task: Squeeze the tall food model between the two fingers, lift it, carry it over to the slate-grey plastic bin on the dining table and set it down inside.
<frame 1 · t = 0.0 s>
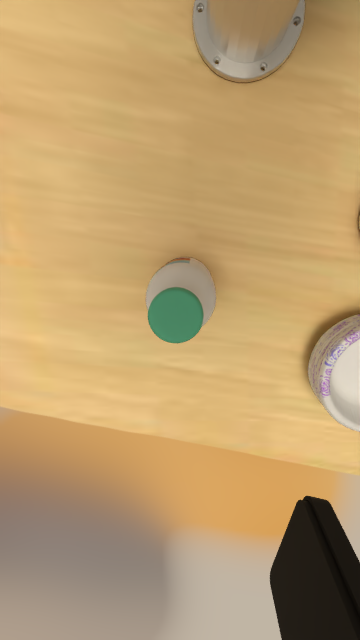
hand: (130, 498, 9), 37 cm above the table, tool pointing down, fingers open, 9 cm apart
paper bowls: (353, 357, 46), on the table
milk bottle: (185, 284, 45), on the table
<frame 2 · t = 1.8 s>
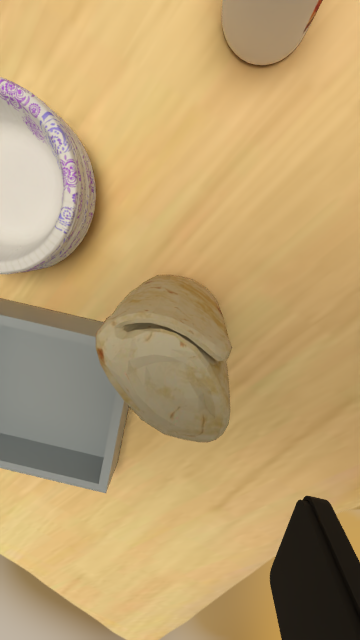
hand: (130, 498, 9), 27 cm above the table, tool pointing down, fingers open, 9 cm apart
bin: (57, 384, 38), on the table
food model: (186, 305, 35), on the table
paper bowls: (36, 194, 33), on the table
milk bottle: (264, 19, 28), on the table
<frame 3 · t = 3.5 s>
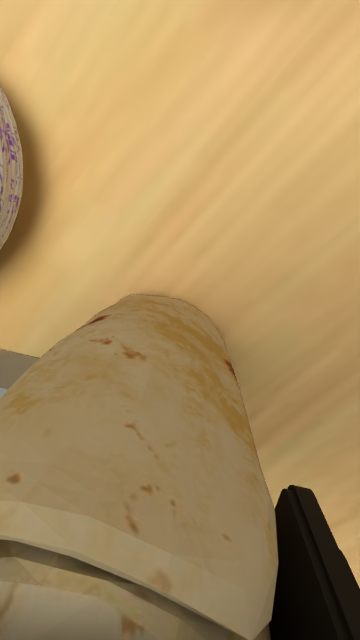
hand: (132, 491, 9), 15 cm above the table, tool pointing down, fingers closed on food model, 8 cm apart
food model: (174, 338, 24), on the table, touching gripper
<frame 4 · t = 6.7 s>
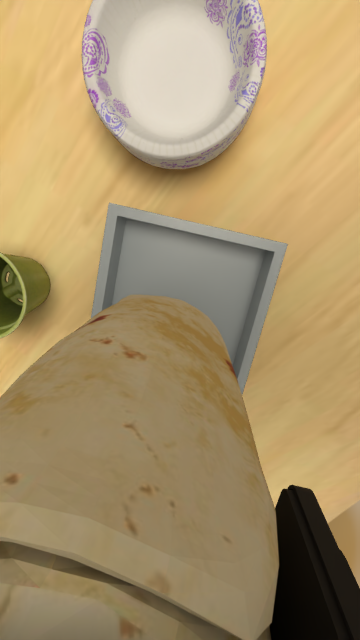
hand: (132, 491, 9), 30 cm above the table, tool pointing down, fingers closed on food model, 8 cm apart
plant pot: (26, 282, 39), on the table
bin: (181, 301, 38), on the table
food model: (175, 338, 24), point 15 cm above the table, touching gripper
paper bowls: (178, 98, 33), on the table
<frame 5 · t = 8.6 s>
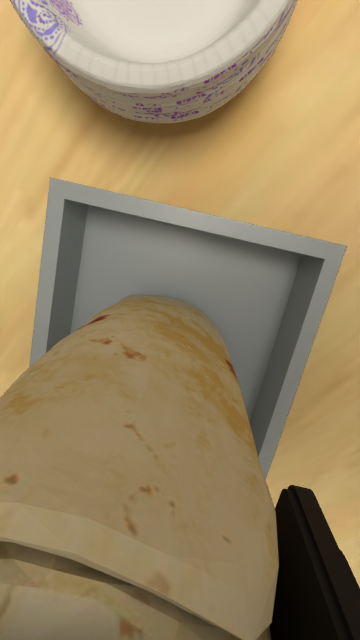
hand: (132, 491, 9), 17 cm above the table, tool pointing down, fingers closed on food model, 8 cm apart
bin: (172, 330, 26), on the table
food model: (175, 338, 24), point 2 cm above the table, touching gripper
paper bowls: (166, 13, 21), on the table
when the fingers open (17 cm above the table, at t = 9.7 s): food model drops 1 cm, resting on bin.
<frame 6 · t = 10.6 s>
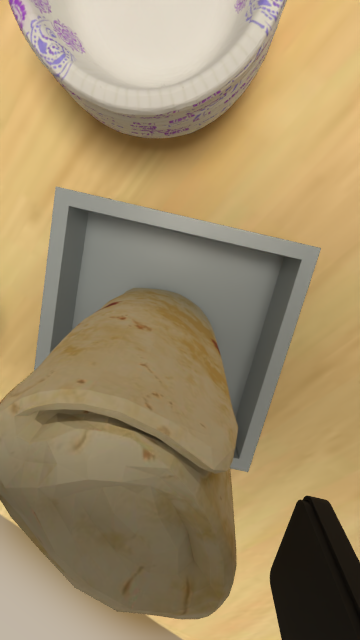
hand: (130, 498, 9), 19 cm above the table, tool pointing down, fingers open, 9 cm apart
bin: (166, 326, 28), on the table
food model: (171, 326, 27), point 1 cm above the table, touching bin
paper bowls: (160, 38, 23), on the table
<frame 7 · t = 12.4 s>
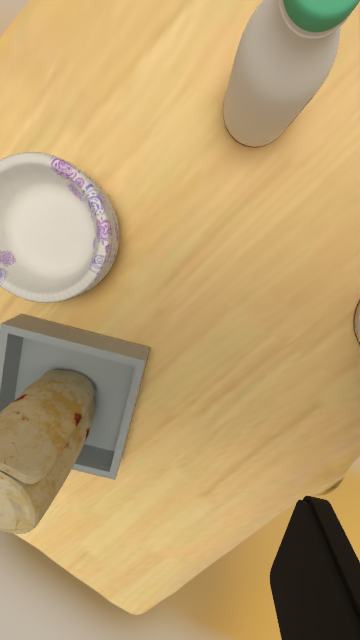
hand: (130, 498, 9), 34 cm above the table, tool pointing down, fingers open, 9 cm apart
bin: (75, 388, 45), on the table
food model: (76, 389, 45), point 1 cm above the table, touching bin
paper bowls: (66, 233, 40), on the table
milk bottle: (255, 111, 36), on the table
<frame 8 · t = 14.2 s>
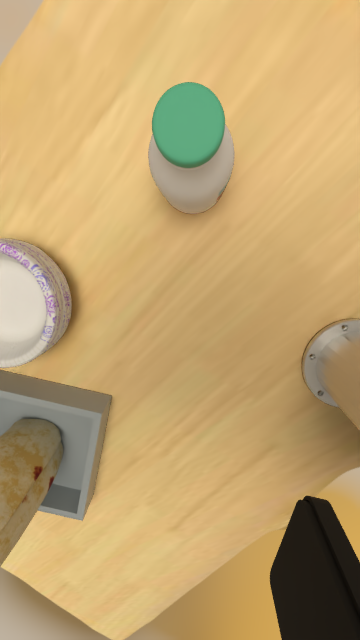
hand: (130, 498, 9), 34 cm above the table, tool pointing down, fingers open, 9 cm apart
bin: (45, 434, 49), on the table
food model: (46, 435, 48), point 1 cm above the table, touching bin
paper bowls: (28, 295, 44), on the table
milk bottle: (193, 181, 39), on the table
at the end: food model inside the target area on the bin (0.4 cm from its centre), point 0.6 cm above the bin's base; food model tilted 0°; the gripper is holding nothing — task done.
